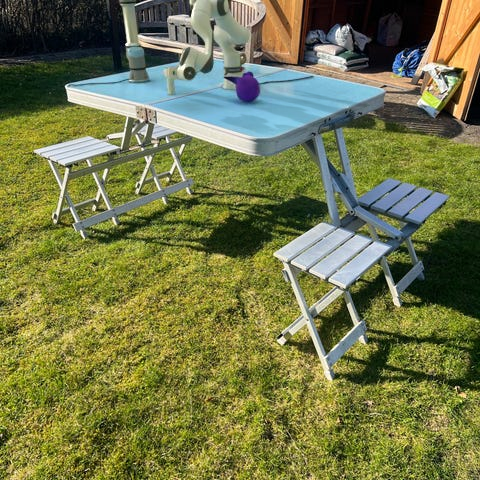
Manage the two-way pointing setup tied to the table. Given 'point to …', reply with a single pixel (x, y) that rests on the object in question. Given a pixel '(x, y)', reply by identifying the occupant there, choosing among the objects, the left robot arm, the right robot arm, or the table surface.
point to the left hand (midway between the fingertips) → (196, 35)
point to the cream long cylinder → (170, 86)
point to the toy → (246, 86)
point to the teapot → (243, 59)
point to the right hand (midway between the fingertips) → (178, 71)
